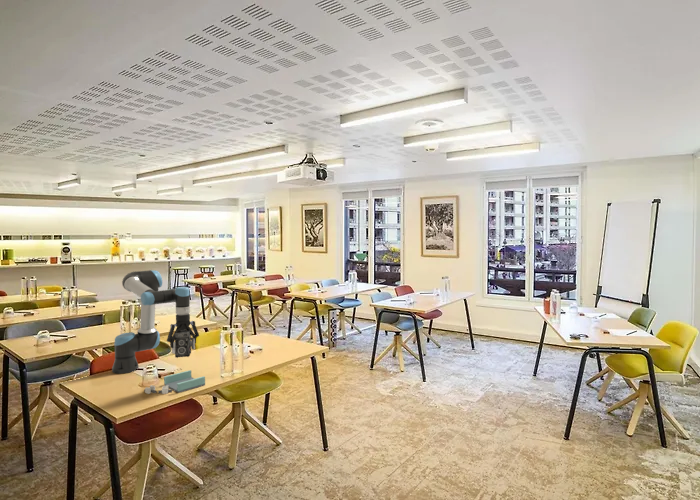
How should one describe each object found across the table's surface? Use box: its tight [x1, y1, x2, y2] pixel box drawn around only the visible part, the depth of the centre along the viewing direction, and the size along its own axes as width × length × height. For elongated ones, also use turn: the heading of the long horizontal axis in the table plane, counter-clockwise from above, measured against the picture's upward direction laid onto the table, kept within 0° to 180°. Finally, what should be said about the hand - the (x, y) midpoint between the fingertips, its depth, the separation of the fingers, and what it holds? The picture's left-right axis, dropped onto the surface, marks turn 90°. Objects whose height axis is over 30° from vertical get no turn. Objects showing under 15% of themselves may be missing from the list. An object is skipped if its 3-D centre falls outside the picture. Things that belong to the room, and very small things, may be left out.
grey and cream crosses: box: [143, 388, 173, 394], centre depth 236 cm, size 16×4×1 cm, turn 87°
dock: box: [163, 369, 206, 394], centre depth 247 cm, size 18×16×5 cm
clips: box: [144, 384, 170, 395], centre depth 236 cm, size 13×5×3 cm, turn 87°
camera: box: [174, 330, 193, 359], centre depth 245 cm, size 10×10×15 cm
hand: (183, 351), depth 246 cm, fingers closed on camera, 11 cm apart
